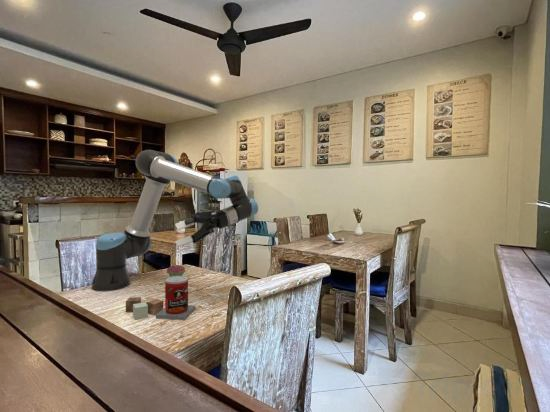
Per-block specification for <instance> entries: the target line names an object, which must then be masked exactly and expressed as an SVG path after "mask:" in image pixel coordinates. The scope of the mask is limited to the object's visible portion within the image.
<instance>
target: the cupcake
mask: <svg viewBox="0 0 550 412" xmlns="http://www.w3.org/2000/svg"><path fill="white" fill-rule="evenodd" d="M173 264H174V265H170V266H169V267H168V268H167V270H166V273H167V274H168V275H169V277H173V276H184V273H185V272H186V268H185V267H184V266H182V265H180V264H176V257H175V256H174V257H173Z"/></svg>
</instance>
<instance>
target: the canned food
mask: <svg viewBox="0 0 550 412" xmlns="http://www.w3.org/2000/svg"><path fill="white" fill-rule="evenodd" d="M164 283H165V285H164V286H165V287H164V289H165V291H164V294H165V295H164V296H165V297H164V298H165V299H164V306H165V307H164V308H165V309H166V312H167V313H170V314H179V313H182V312H185V311H186V310H187V308H188V305H189V278H188V277H187V276H184V275H182V276H173V277H170V276H169V277H167V278H166V279H165V281H164Z"/></svg>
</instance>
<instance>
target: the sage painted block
mask: <svg viewBox="0 0 550 412" xmlns="http://www.w3.org/2000/svg"><path fill="white" fill-rule="evenodd" d="M146 302H147V301H144V302H141V303H138V304H133V312H132V316H133V318H134V320H135V321H136V320H140V319H145V318H149V317H148V316H149V314H148V305H147V304H146Z"/></svg>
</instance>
